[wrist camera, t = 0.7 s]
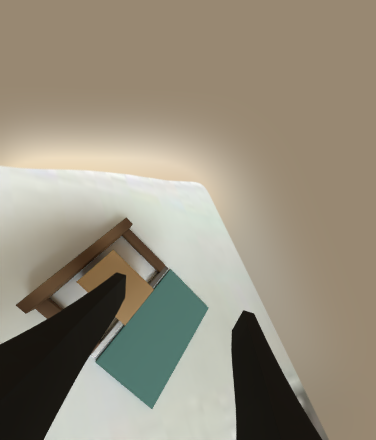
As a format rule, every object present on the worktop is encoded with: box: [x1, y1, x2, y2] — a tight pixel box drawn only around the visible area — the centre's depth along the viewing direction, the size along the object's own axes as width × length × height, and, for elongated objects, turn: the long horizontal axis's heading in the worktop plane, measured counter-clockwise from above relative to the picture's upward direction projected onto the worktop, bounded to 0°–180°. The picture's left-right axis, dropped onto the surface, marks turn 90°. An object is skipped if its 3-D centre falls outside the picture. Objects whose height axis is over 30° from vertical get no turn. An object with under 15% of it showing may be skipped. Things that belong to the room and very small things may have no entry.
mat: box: [96, 269, 208, 409], centre depth 24 cm, size 14×10×1 cm
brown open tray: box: [16, 218, 168, 358], centre depth 21 cm, size 13×10×4 cm
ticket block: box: [77, 250, 154, 325], centre depth 19 cm, size 4×6×8 cm, turn 49°
